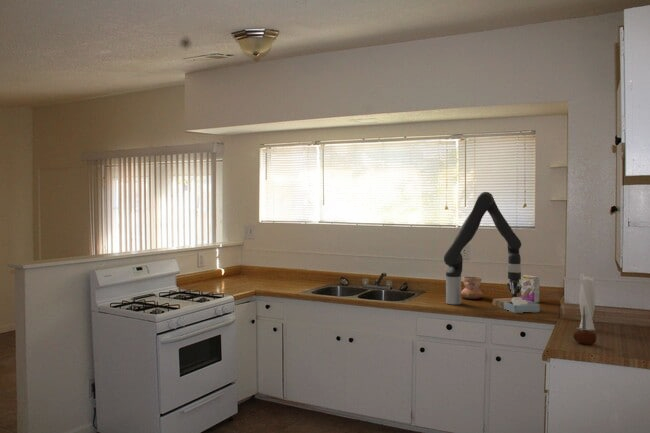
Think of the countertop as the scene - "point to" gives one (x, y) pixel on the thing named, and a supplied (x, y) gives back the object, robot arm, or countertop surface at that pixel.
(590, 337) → the potato
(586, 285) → the white statue
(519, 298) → the tile
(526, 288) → the candy bar box
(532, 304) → the tray
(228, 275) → the countertop surface
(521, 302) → the tile
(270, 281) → the countertop surface
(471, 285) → the ceramic jug
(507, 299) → the board
